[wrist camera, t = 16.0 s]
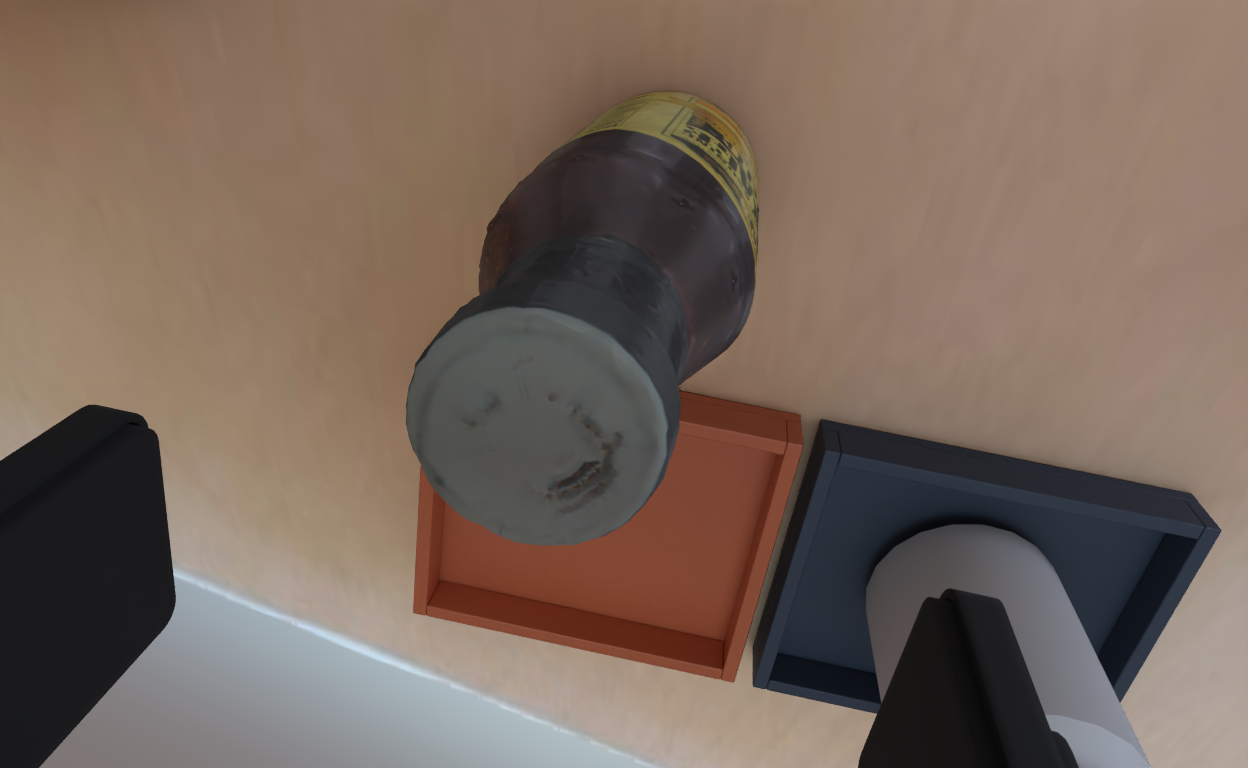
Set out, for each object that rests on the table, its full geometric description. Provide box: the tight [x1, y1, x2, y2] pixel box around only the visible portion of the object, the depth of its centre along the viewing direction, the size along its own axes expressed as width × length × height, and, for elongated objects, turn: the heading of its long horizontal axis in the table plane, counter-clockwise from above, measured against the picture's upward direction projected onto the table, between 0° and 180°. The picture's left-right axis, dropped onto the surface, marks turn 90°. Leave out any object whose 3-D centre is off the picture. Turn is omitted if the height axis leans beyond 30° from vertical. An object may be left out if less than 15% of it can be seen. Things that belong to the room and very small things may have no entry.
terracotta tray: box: [413, 391, 803, 682], centre depth 36 cm, size 14×12×2 cm
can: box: [866, 524, 1151, 768], centre depth 30 cm, size 8×8×12 cm
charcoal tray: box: [753, 420, 1221, 714], centre depth 35 cm, size 14×12×2 cm
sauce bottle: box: [406, 91, 759, 546], centre depth 21 cm, size 7×6×20 cm
